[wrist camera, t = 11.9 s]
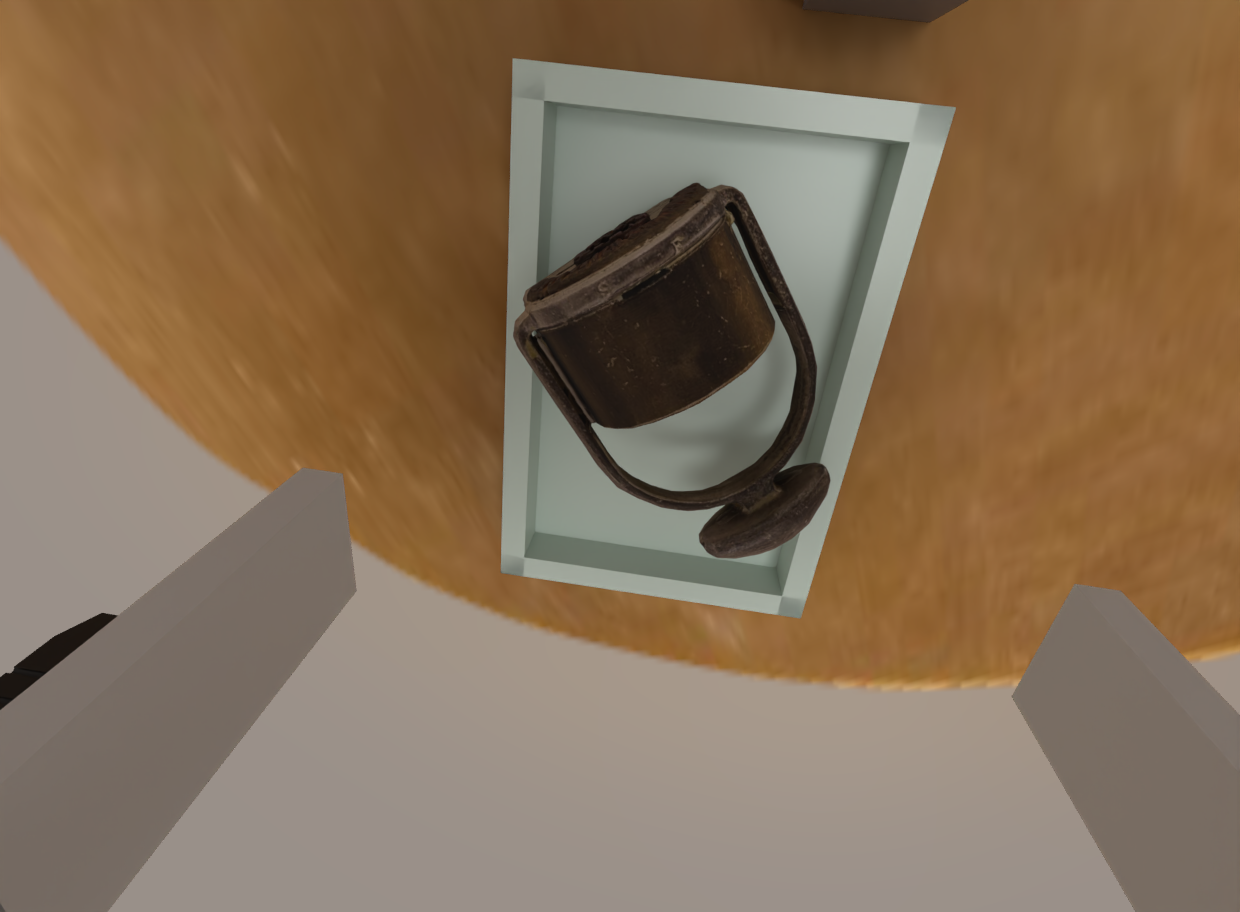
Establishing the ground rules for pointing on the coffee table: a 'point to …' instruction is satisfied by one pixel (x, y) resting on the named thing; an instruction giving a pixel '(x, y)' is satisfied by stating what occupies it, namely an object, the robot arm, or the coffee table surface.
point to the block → (887, 8)
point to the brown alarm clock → (678, 353)
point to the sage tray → (807, 257)
